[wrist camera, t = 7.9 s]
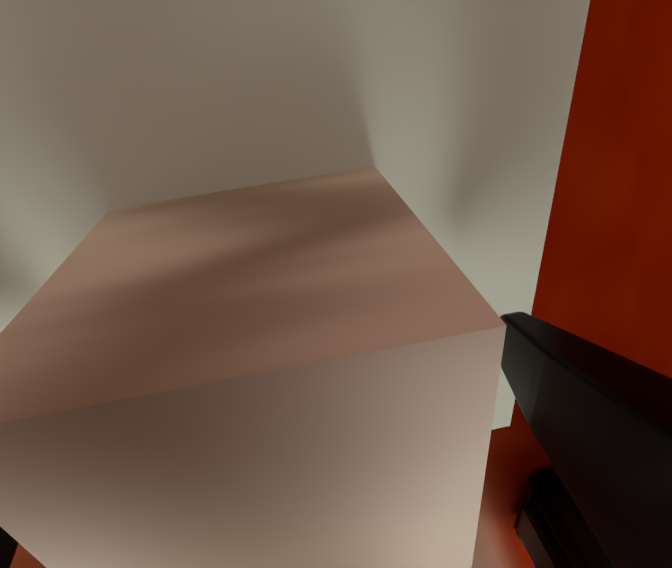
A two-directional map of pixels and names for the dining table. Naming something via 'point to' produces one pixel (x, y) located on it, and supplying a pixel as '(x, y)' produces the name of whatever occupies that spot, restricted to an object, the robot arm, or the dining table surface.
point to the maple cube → (251, 387)
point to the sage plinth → (287, 118)
